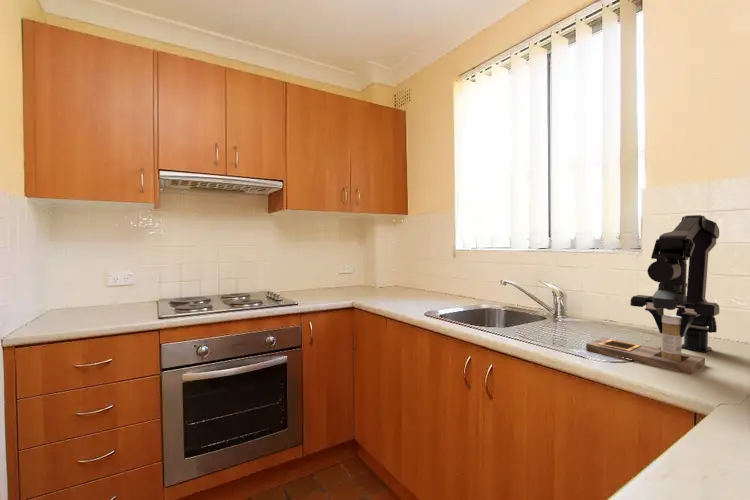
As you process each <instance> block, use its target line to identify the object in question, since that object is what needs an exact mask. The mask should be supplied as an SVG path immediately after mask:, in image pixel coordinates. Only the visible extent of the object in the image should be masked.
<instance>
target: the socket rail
mask: <svg viewBox="0 0 750 500" xmlns="http://www.w3.org/2000/svg"><path fill="white" fill-rule="evenodd" d="M585 347H586V348H585V350H586V351H589V352H594V353H597V354H601V355H605V354H606V356H610V355H612V356H611V357H614V356H618V357H624V358H629V359H632V360H634V361H633V362H635V361H636V362H635V363H640V364H644V365H649V366H653V367H657V368H662V369H666V370H671V371H674V372H679V373H682V374H687V375H693V374H695V373H696V372H698V371H699V370H700V369H702V368H703V367H705V365H706V357H702V356H699V355H698V356H697V355H693V354H688V353H683V352H681V362H680V361H675V360H670V359H666V358H662V350H661V348H657V347H652V346H648V345H644V344H639V343H632V342H628V341H623V340H618V339H611V338H608V337H601V338H598V339H595V340H593V341H590V342H587V343H586V346H585ZM618 357H617V358H618Z"/></svg>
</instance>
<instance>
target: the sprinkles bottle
mask: <svg viewBox="0 0 750 500" xmlns="http://www.w3.org/2000/svg"><path fill="white" fill-rule="evenodd" d="M681 325H682V317H680V316H676V315H674V314H664V315H662V334H661V348H660V349H661V350H662V358H666V359H670V360H675V361H680V362H681V353H682V349H683V348H682V344H683V343H682V341H683V339H682V338H683V337H681V333H680V332H681Z"/></svg>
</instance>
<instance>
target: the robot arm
mask: <svg viewBox="0 0 750 500" xmlns="http://www.w3.org/2000/svg"><path fill="white" fill-rule="evenodd" d="M719 237H720V228H719V225H718V224H717V222H715V221H713V220H710V219H708V218H707V217H706V216H705V215H702V214H694V215H691V214H690V215H689V214H688V215H684V216H682V217H681V221H680V222H679V223H678V225H676V226H675V228H674V229H673V230H672V231H668V232H665V233H662V234H660V235H659V237H658V238H657V239H656V240H655V242H654V246H653V250H652V253H651V257H650V258H651V259H652V260H656V261H653V262H652V263H650V264H649V266H648V268H647V271H646V272H647V275H648V277H649V278H650V279H651V280H653V281H654V282H656V283H658V285H657V286H658V287H657V290H656V291H655V292H654V293H653V295H644V294H637V295H633V296H631V299H630V306H631V307H638V308H643V307H645V308H644V310H645V311H646V312H647V311H648V312H649V313H650V314H651V316H652V317H653V319H654V321H655V324H656V326H657V330H658V332H659V334H661V335H662V315H665V314H664V312H665V311H664V309H665V310H667V311H674V310H675V309H676V313H675V314H676V315H675V316H680V317H682V325H681V332H680V333H681V337H682V338H683V343H682V348H681V349H685V350H693V351H696V352H701V353H707V352H709V351H710V350H712V347H711V346H709V345H708V343H709V333H710V334H712V333H717V329H718V327H717V322H716V317H715V316H717V315H719V314H720V305H719V304H718V303H717V302H709V301H708V300H707V299H706V296H707V295H706V294H707V281H708V279H707V277H708V266H709V265H708V263H709V253H710V252H711V251H712V250H713V248H714V247H715V246H716V245H717V239H719ZM687 261H688V263H687ZM687 267H688V269H687ZM687 271H688V274H687Z"/></svg>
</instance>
